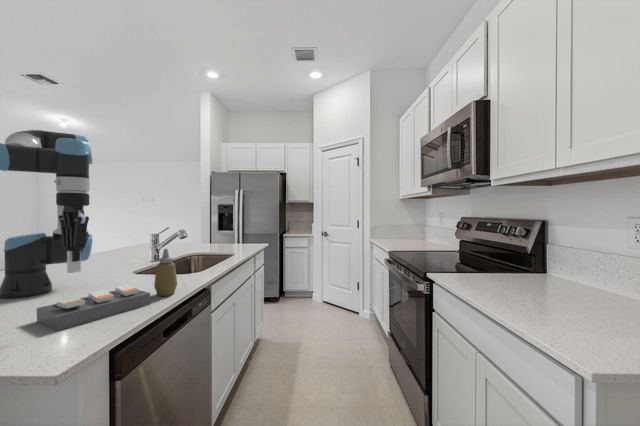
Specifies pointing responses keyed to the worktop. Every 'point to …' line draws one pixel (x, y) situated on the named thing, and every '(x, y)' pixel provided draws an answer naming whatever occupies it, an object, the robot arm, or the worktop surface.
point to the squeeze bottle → (165, 276)
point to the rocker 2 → (127, 289)
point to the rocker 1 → (70, 303)
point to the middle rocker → (101, 296)
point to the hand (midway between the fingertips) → (74, 271)
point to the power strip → (90, 310)
